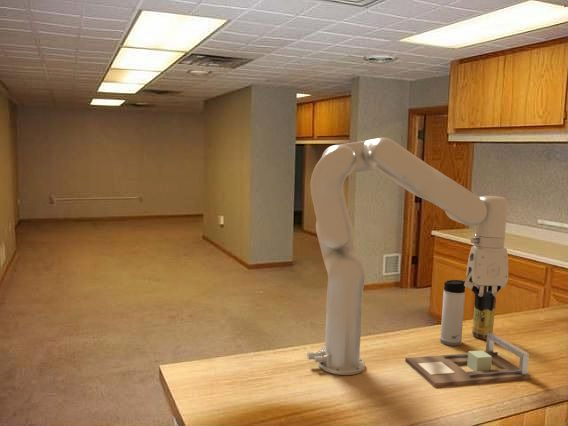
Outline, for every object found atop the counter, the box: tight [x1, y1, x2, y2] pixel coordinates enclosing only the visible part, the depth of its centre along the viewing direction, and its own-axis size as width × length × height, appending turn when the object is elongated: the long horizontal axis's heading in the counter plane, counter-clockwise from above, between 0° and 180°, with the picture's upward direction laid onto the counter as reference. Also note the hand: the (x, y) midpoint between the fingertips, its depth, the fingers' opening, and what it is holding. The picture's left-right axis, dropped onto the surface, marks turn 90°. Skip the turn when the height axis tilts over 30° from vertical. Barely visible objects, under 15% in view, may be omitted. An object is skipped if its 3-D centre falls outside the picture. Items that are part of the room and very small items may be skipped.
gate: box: [485, 332, 530, 375], centre depth 141 cm, size 2×16×6 cm, turn 13°
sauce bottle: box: [471, 286, 497, 340], centre depth 164 cm, size 7×6×20 cm
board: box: [404, 351, 532, 388], centre depth 139 cm, size 28×16×2 cm, turn 103°
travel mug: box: [439, 279, 466, 347], centre depth 158 cm, size 6×7×20 cm
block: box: [466, 350, 492, 371], centre depth 140 cm, size 4×4×4 cm
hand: (483, 308), depth 138 cm, fingers closed
